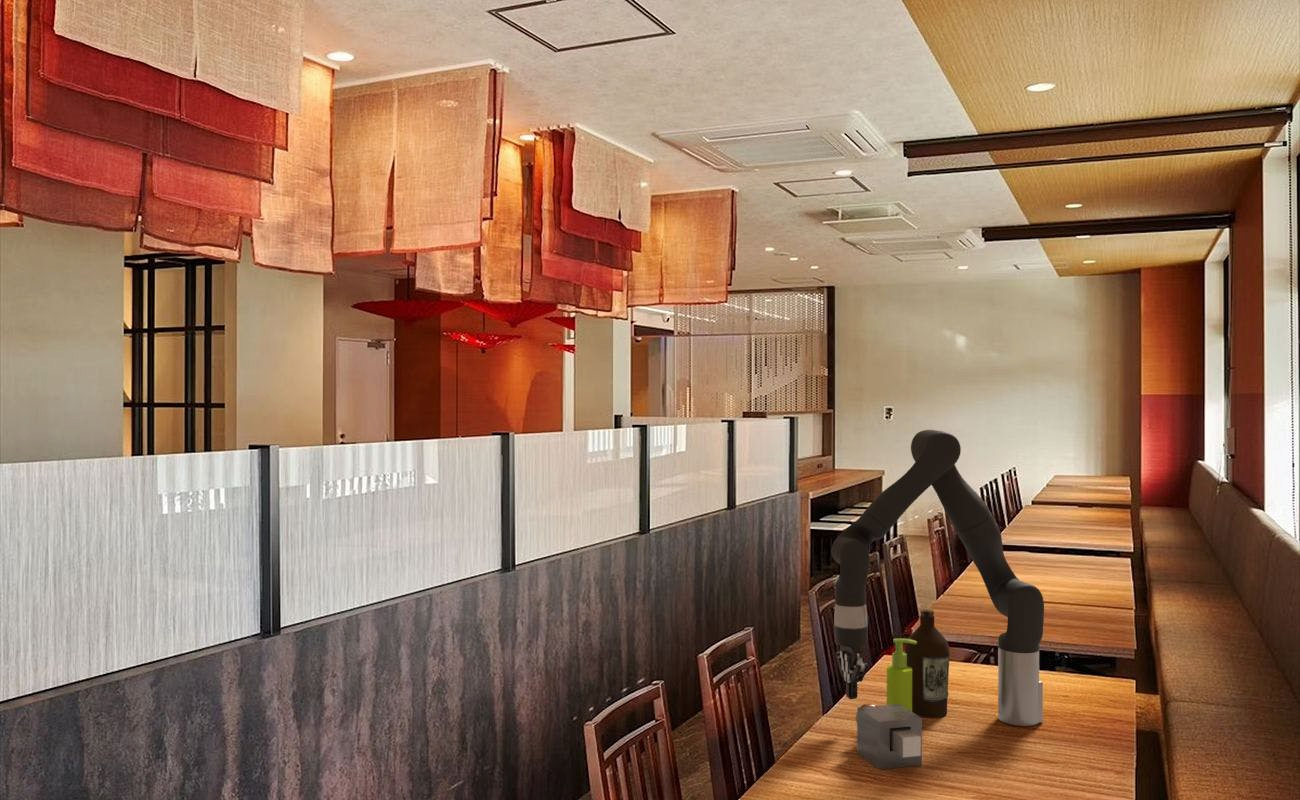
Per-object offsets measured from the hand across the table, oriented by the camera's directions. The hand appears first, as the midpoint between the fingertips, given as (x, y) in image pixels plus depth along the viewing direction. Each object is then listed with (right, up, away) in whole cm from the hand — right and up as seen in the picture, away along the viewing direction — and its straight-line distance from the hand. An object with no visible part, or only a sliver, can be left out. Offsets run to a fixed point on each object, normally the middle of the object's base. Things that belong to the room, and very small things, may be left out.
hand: (851, 697), depth 241 cm
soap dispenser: (+13, -8, +5) cm, 16 cm away
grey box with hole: (+4, -8, -18) cm, 20 cm away
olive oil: (+21, -8, +14) cm, 26 cm away
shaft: (+4, -5, -18) cm, 19 cm away
